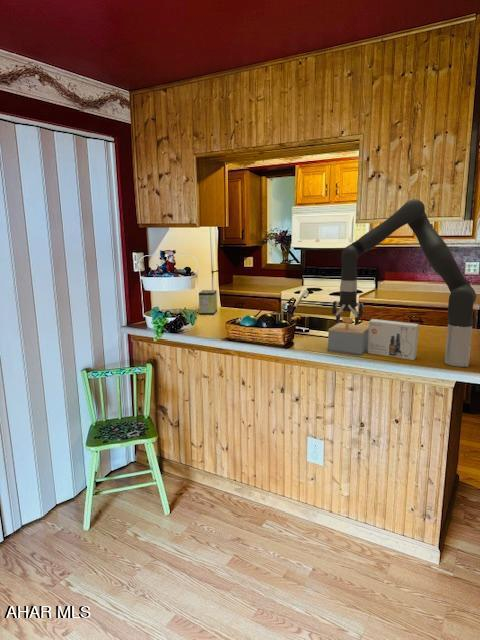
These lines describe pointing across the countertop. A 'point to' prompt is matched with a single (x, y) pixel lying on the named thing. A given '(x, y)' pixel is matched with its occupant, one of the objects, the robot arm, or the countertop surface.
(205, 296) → the protein box
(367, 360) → the countertop surface
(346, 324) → the carton lid
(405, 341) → the skincare box
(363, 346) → the carton
